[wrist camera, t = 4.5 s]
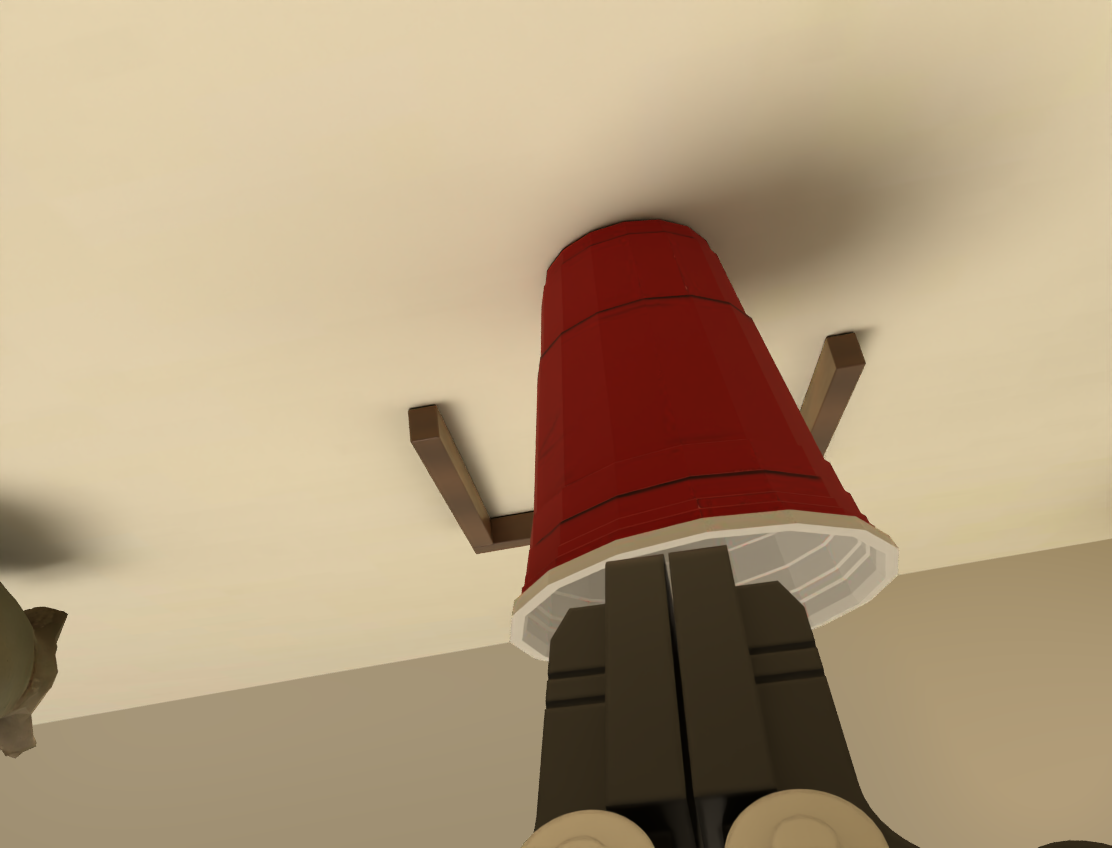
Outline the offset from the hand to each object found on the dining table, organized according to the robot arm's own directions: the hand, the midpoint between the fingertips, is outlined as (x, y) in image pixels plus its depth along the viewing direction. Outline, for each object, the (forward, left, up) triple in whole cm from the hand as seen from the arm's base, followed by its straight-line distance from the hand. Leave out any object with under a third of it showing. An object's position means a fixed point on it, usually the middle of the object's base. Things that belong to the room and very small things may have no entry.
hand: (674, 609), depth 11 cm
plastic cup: (+8, +11, -15) cm, 20 cm away
